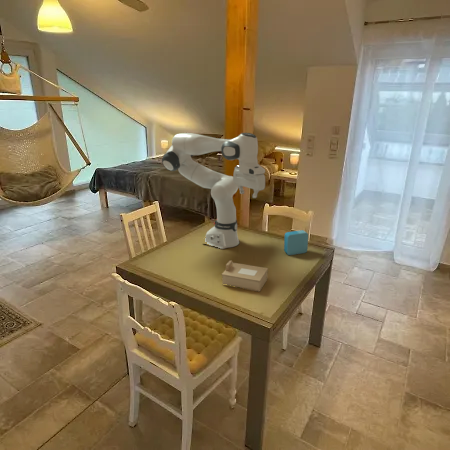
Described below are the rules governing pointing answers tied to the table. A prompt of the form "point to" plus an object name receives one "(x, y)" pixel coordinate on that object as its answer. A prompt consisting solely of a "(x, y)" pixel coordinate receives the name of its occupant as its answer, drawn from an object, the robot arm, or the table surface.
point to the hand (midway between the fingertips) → (248, 195)
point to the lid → (244, 271)
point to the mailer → (245, 282)
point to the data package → (296, 242)
